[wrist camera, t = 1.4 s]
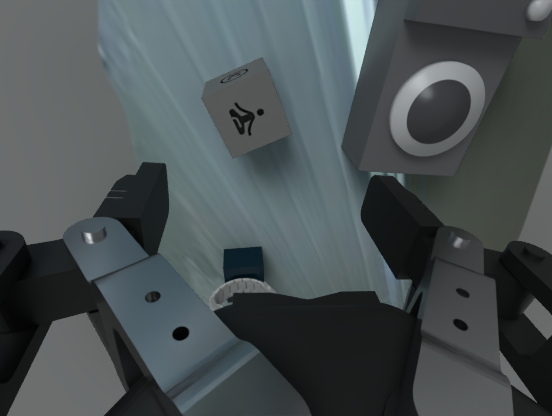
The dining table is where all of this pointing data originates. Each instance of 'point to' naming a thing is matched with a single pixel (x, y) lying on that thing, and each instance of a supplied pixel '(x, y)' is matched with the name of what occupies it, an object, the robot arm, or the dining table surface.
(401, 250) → the robot arm
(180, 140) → the dining table surface
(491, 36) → the camera body
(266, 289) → the watch
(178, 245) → the dining table surface
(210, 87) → the dice cube
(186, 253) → the dining table surface
